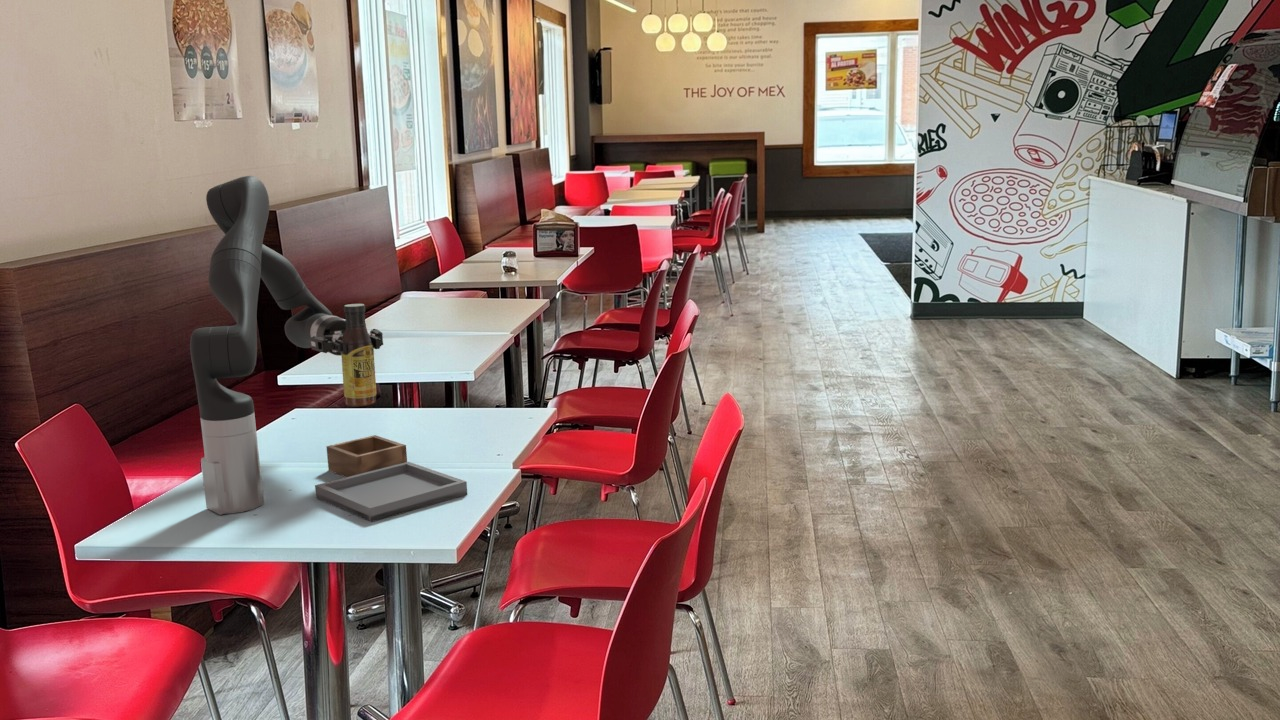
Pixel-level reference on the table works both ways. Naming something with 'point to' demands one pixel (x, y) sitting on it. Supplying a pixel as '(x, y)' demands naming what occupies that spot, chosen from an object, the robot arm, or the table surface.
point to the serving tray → (390, 491)
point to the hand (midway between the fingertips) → (361, 345)
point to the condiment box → (364, 455)
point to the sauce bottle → (358, 359)
